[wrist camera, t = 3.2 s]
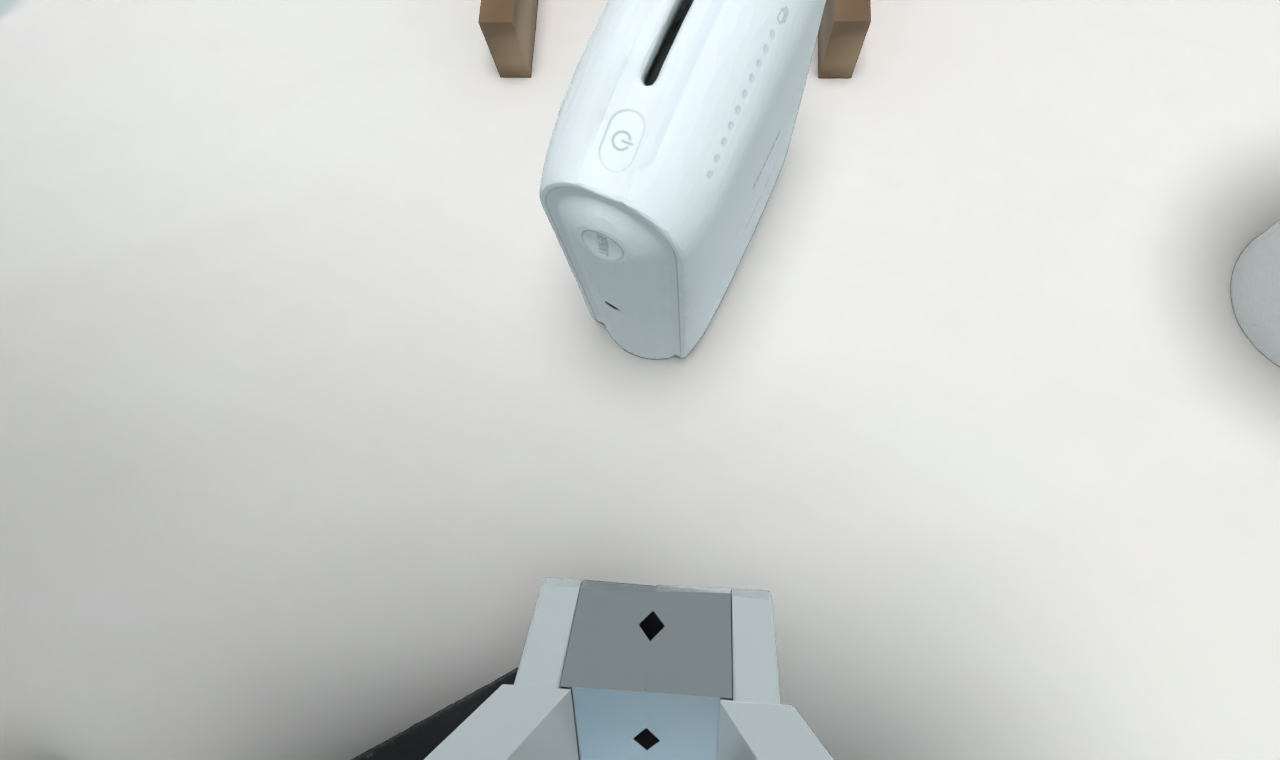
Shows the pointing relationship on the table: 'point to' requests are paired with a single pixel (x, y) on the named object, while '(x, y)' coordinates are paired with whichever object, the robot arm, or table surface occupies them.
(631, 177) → the photo printer
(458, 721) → the disk drive
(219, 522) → the table surface
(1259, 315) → the dixie cup
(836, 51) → the dock
